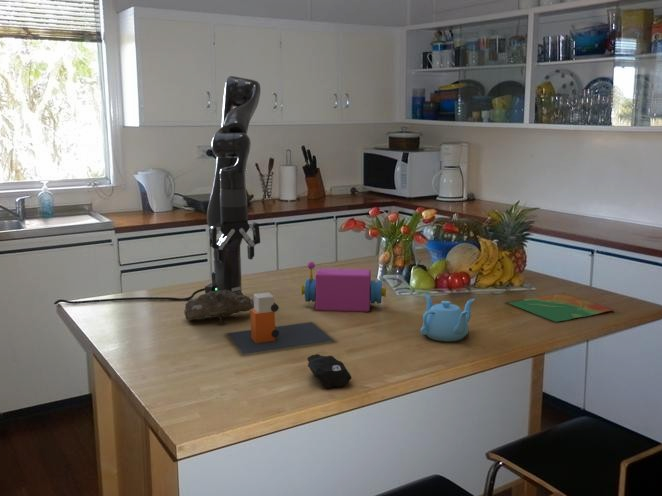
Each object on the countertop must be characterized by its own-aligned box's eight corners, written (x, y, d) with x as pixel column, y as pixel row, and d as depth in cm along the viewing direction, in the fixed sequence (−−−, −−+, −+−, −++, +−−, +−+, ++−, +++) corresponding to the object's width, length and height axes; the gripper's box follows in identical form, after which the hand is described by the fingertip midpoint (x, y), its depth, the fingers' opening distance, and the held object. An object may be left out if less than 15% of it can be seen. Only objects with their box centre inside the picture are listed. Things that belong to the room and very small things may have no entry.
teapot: (414, 341, 186) (415, 306, 184) (424, 324, 200) (425, 292, 198) (467, 347, 182) (468, 311, 180) (473, 329, 196) (475, 296, 194)
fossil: (252, 297, 214) (253, 278, 201) (258, 325, 210) (260, 307, 197) (183, 310, 209) (180, 291, 196) (188, 338, 205) (186, 321, 192)
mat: (243, 355, 175) (243, 353, 175) (227, 334, 192) (227, 333, 192) (334, 342, 185) (334, 340, 185) (311, 323, 202) (311, 322, 202)
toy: (385, 304, 221) (386, 260, 218) (385, 312, 212) (385, 267, 210) (303, 302, 224) (303, 259, 221) (299, 310, 215) (299, 265, 212)
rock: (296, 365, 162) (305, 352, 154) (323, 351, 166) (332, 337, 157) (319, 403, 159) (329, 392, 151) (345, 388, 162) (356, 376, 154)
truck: (256, 343, 183) (255, 298, 181) (250, 337, 188) (249, 293, 185) (279, 340, 186) (278, 296, 183) (273, 334, 190) (272, 291, 188)
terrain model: (563, 294, 233) (563, 292, 233) (614, 311, 213) (615, 309, 213) (507, 302, 223) (507, 301, 222) (555, 321, 203) (555, 319, 202)
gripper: (252, 201, 193) (254, 255, 195) (205, 204, 186) (207, 261, 189) (262, 203, 186) (264, 260, 189) (213, 207, 180) (215, 265, 182)
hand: (236, 260), depth 189 cm, fingers open, 8 cm apart
